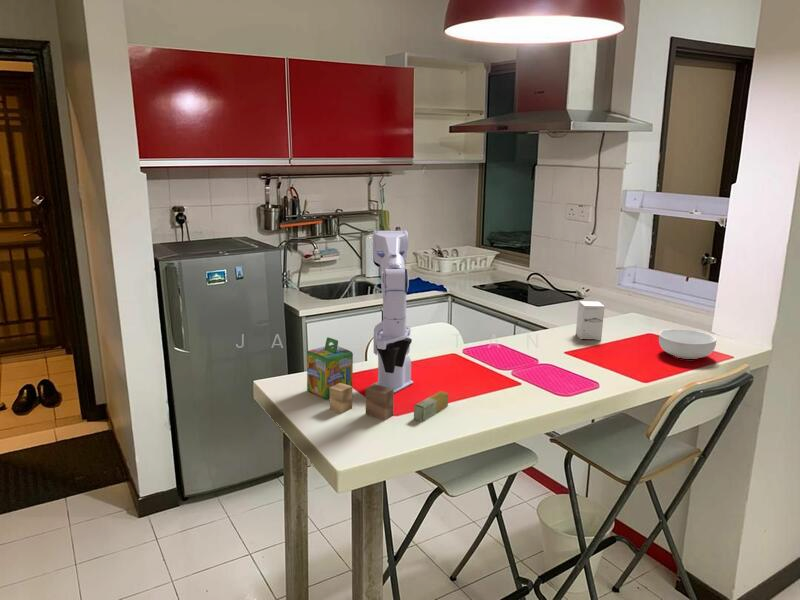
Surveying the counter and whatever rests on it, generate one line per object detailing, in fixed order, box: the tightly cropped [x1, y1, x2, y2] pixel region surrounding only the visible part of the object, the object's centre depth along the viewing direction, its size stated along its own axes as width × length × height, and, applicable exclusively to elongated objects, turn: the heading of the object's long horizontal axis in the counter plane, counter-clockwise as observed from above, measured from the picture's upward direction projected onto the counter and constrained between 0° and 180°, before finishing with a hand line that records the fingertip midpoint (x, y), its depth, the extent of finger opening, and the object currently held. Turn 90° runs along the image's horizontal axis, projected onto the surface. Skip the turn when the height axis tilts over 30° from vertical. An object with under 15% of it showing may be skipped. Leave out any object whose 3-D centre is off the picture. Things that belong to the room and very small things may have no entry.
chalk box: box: [306, 336, 354, 401], centre depth 162 cm, size 9×9×15 cm
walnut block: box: [365, 383, 395, 421], centre depth 149 cm, size 4×6×7 cm, turn 54°
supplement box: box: [575, 300, 606, 341], centre depth 213 cm, size 7×7×13 cm
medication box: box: [413, 390, 449, 423], centre depth 151 cm, size 12×3×4 cm, turn 143°
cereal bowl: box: [658, 328, 717, 359], centre depth 194 cm, size 17×17×7 cm
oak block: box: [329, 383, 353, 414], centre depth 152 cm, size 4×4×6 cm
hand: (394, 369), depth 151 cm, fingers open, 5 cm apart
